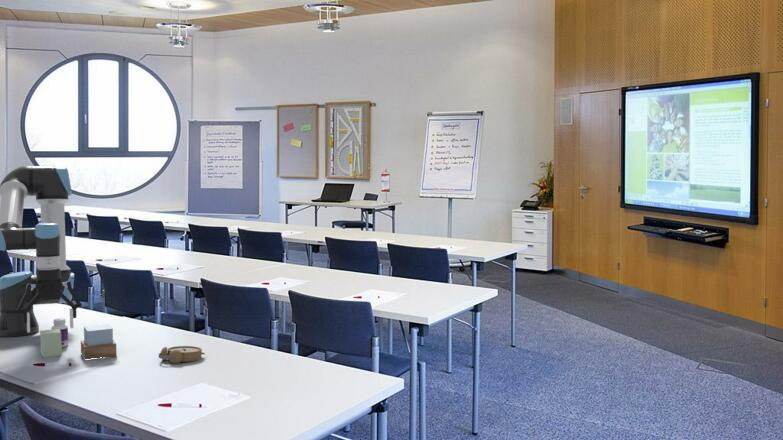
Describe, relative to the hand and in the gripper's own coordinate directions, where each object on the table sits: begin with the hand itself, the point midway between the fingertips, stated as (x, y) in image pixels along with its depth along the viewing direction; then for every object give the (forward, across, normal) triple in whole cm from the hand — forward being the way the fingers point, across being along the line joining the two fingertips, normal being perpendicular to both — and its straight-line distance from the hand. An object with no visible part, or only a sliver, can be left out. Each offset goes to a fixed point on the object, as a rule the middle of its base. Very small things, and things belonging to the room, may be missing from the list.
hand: (50, 329), depth 259 cm
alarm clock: (+9, +37, -28) cm, 48 cm away
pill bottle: (+9, +4, +12) cm, 15 cm away
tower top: (+4, +14, -9) cm, 17 cm away
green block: (+9, 0, 0) cm, 9 cm away
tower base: (+9, +14, -9) cm, 19 cm away
